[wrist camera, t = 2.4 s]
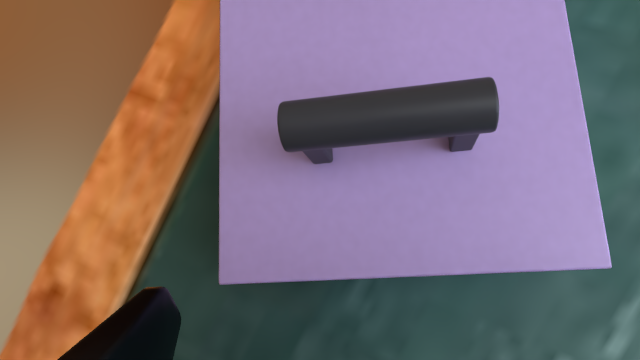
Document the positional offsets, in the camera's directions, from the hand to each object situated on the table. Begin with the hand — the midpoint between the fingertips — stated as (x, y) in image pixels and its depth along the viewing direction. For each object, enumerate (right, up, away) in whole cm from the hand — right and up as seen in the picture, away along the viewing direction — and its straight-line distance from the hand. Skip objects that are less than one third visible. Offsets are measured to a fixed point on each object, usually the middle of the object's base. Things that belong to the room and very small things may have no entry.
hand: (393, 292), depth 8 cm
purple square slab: (+1, +6, +8) cm, 10 cm away
